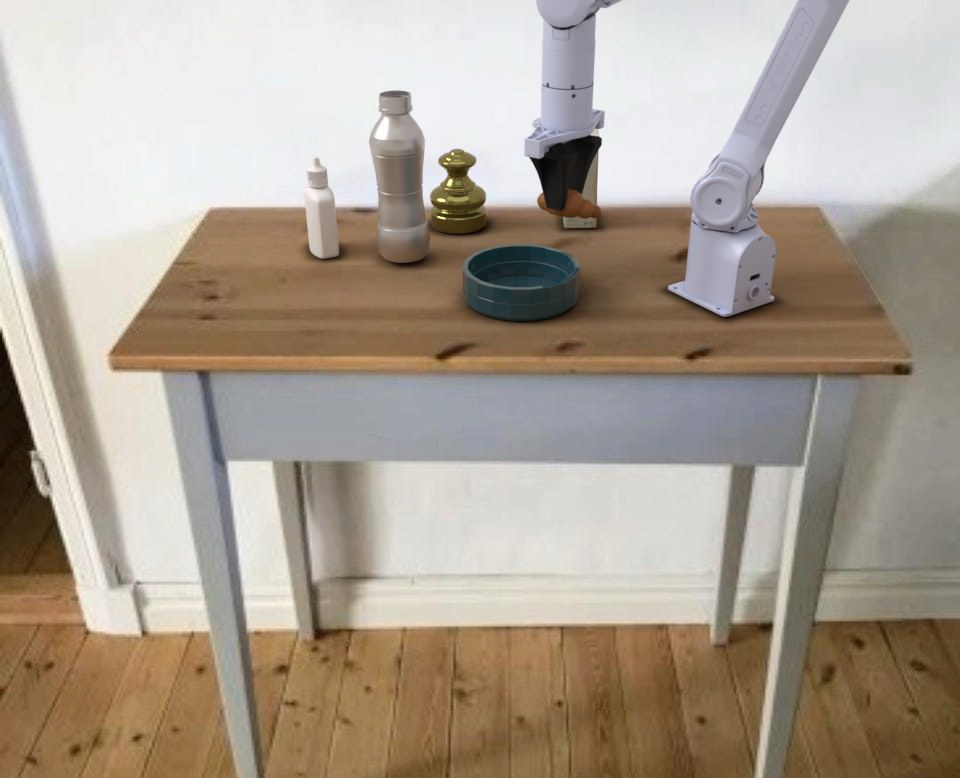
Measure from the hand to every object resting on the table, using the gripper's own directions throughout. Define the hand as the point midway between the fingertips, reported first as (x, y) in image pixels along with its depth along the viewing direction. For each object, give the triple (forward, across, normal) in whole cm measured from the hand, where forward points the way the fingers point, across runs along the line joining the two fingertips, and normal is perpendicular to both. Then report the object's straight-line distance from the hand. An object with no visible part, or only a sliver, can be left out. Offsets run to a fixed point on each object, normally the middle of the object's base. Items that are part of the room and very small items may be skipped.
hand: (563, 203), depth 125 cm
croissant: (+1, 0, 0) cm, 1 cm away
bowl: (+8, +9, 0) cm, 13 cm away
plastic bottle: (+9, +7, -18) cm, 22 cm away
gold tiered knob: (+9, -6, -20) cm, 22 cm away
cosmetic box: (+9, -16, -7) cm, 19 cm away
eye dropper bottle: (+9, +11, -28) cm, 32 cm away
